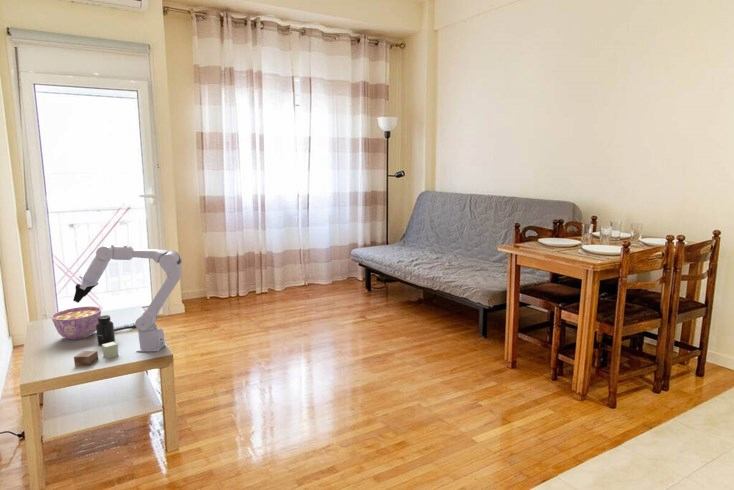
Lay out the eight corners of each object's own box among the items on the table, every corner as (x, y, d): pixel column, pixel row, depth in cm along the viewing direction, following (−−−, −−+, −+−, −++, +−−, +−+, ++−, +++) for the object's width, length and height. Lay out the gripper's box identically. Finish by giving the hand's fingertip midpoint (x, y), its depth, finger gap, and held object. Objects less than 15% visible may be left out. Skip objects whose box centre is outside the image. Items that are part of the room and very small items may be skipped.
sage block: (114, 352, 204) (113, 341, 204) (118, 355, 201) (117, 344, 200) (103, 355, 201) (101, 344, 201) (106, 358, 198) (105, 347, 197)
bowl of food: (65, 348, 211) (62, 322, 209) (47, 338, 223) (43, 314, 221) (112, 334, 226) (109, 310, 224) (92, 326, 238) (89, 303, 236)
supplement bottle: (96, 346, 212) (92, 320, 210) (100, 340, 219) (97, 315, 217) (113, 344, 214) (110, 318, 212) (116, 338, 220) (113, 313, 218)
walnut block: (98, 360, 197) (97, 350, 197) (89, 366, 192) (88, 356, 191) (84, 360, 198) (82, 350, 197) (75, 366, 192) (73, 356, 191)
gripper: (91, 261, 205) (75, 288, 206) (79, 271, 191) (62, 299, 192) (107, 269, 207) (92, 296, 208) (97, 279, 194) (80, 307, 194)
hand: (79, 298), depth 200 cm, fingers open, 7 cm apart
